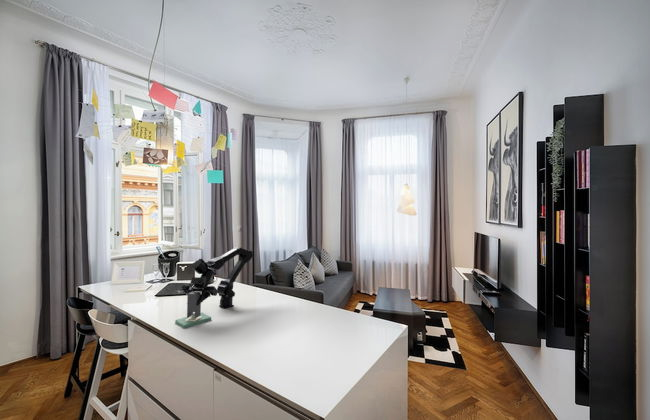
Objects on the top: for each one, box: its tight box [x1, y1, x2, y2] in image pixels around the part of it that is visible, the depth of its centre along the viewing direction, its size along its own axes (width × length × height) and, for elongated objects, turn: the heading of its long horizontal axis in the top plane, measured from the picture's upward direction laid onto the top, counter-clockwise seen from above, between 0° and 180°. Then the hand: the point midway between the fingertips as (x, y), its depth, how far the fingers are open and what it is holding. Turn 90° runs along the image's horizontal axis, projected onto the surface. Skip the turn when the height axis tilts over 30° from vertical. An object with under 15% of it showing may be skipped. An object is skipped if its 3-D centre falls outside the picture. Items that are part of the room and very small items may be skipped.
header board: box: [174, 312, 212, 329], centre depth 139 cm, size 14×10×4 cm
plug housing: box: [186, 291, 202, 318], centre depth 139 cm, size 4×5×12 cm
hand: (192, 304), depth 137 cm, fingers closed on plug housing, 5 cm apart
